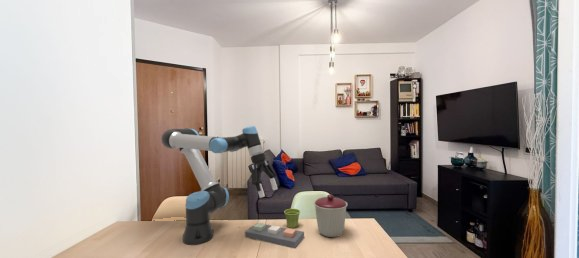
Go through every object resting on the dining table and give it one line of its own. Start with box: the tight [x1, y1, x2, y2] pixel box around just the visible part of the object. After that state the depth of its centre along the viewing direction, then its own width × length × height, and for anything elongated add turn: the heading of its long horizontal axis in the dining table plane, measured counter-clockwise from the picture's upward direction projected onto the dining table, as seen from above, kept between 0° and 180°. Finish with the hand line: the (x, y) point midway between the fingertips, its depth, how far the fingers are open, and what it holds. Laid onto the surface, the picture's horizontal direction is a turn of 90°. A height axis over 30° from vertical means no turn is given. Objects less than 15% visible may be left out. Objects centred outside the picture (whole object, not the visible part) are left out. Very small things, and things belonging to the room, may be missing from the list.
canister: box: [313, 194, 348, 238], centre depth 129 cm, size 18×18×21 cm
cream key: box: [268, 225, 282, 235], centre depth 125 cm, size 5×5×3 cm
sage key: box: [252, 222, 267, 232], centre depth 129 cm, size 5×5×3 cm
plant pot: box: [283, 208, 301, 229], centre depth 139 cm, size 9×9×9 cm
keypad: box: [244, 223, 305, 249], centre depth 125 cm, size 29×12×3 cm, turn 65°
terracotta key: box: [283, 227, 297, 238], centre depth 121 cm, size 5×5×3 cm
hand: (269, 193), depth 124 cm, fingers open, 13 cm apart
